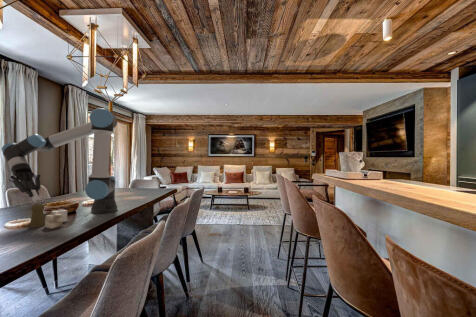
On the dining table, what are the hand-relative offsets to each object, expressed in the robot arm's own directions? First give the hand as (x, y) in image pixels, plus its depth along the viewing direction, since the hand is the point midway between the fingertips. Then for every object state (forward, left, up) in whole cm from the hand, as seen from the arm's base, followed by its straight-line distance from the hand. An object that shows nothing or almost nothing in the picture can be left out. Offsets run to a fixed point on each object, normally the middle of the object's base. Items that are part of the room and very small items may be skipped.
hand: (37, 201), depth 117 cm
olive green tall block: (-1, 0, -13) cm, 13 cm away
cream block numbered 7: (-6, -8, -13) cm, 16 cm away
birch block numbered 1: (-10, +1, -13) cm, 16 cm away
